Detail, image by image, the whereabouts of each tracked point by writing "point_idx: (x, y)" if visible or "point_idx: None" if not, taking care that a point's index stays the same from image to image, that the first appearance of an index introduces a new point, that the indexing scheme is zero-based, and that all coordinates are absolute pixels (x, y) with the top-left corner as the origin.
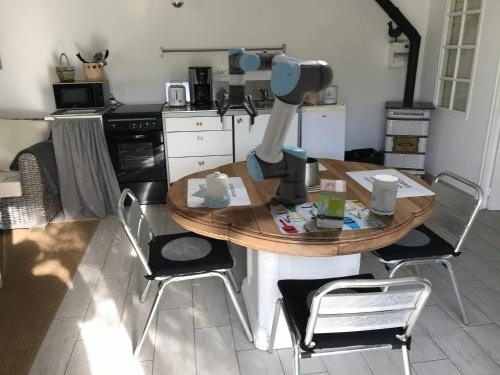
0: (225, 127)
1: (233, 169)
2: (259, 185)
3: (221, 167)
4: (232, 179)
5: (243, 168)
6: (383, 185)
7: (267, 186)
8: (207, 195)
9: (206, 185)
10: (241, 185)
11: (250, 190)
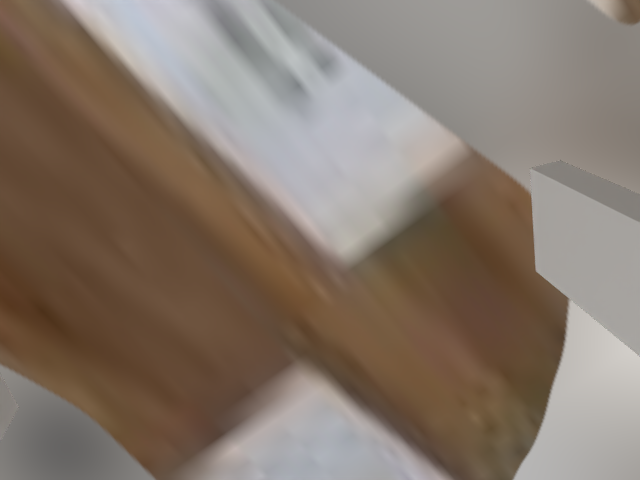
0: (554, 255)
1: (472, 354)
2: (115, 196)
3: (560, 340)
4: (352, 189)
5: (432, 404)
6: None
7: (56, 212)
8: None
9: None
10: (215, 119)
11: (83, 63)
